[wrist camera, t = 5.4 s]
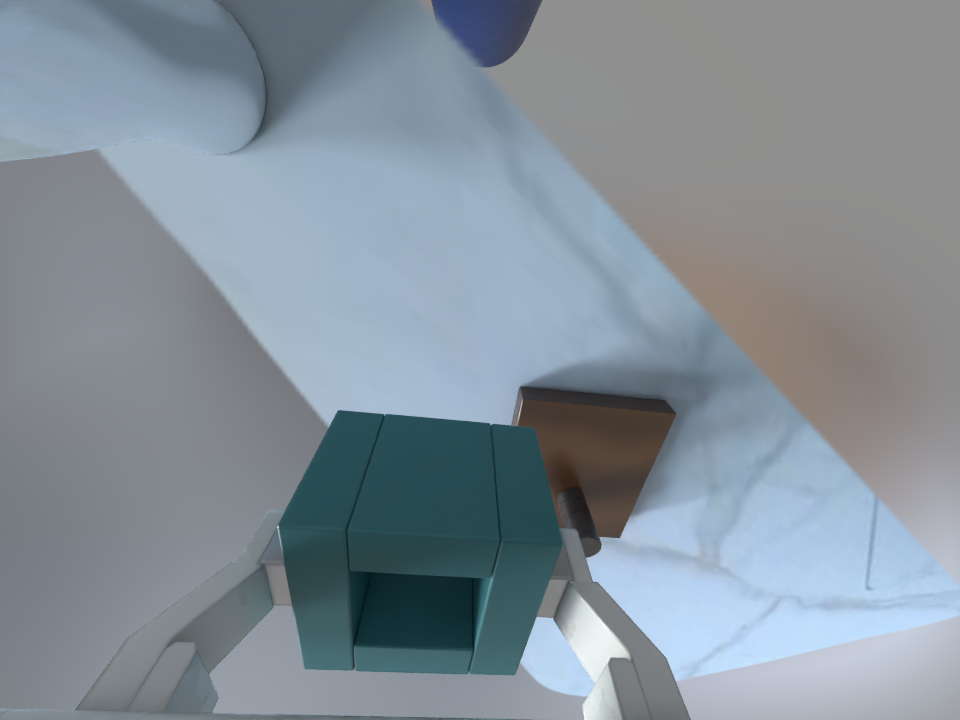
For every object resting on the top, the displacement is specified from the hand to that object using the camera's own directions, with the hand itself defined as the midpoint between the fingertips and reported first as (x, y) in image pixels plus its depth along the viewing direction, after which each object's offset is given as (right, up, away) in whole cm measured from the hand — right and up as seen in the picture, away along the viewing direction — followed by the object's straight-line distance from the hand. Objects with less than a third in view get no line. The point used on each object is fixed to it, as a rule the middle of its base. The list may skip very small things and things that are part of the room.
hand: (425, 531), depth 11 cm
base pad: (+8, -2, +16) cm, 18 cm away
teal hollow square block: (0, +1, +2) cm, 2 cm away
